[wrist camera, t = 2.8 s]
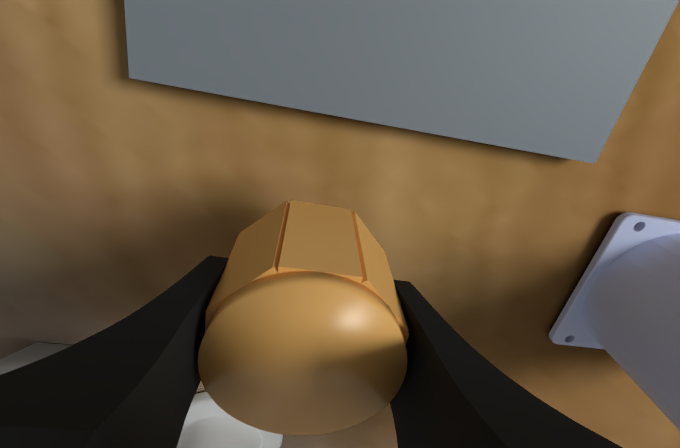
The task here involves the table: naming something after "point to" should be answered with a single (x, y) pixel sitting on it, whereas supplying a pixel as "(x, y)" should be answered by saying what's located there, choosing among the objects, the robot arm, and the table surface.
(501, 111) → the board
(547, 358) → the table surface
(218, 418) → the candle
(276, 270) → the cap
